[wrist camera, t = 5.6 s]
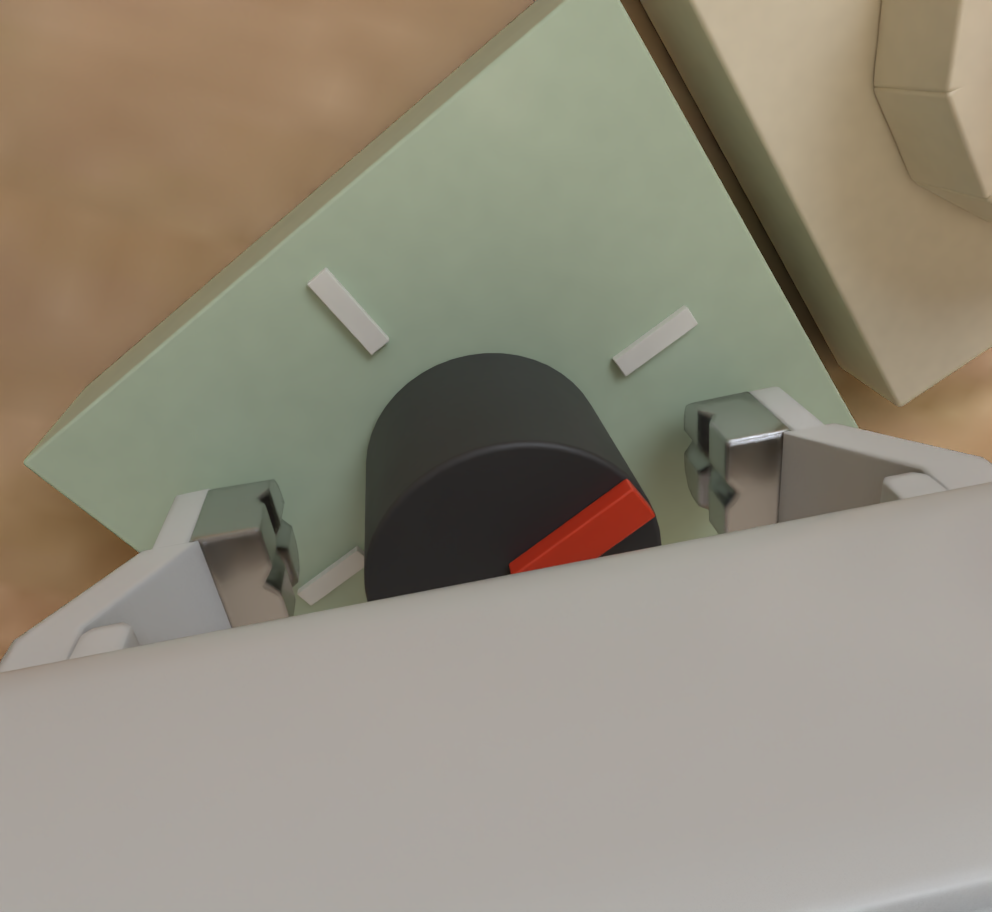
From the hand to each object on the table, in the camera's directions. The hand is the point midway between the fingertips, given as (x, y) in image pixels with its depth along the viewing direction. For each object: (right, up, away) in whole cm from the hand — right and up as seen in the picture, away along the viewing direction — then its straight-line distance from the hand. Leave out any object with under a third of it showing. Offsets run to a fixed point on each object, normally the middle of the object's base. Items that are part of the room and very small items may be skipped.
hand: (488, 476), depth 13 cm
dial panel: (0, +2, +3) cm, 4 cm away
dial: (0, 0, 0) cm, 0 cm away
